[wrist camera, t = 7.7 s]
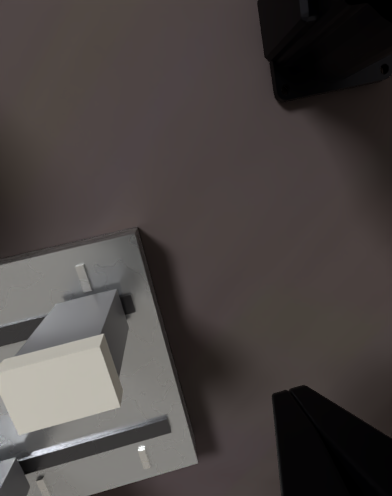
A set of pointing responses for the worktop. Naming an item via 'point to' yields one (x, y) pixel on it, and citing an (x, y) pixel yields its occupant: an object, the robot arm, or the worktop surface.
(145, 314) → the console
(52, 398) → the cream fader
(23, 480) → the orange fader
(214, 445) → the worktop surface
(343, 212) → the worktop surface
